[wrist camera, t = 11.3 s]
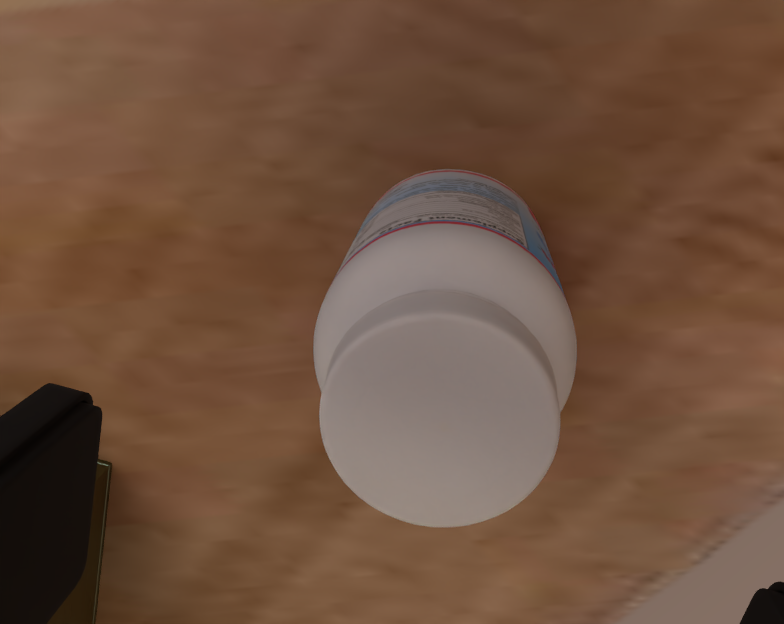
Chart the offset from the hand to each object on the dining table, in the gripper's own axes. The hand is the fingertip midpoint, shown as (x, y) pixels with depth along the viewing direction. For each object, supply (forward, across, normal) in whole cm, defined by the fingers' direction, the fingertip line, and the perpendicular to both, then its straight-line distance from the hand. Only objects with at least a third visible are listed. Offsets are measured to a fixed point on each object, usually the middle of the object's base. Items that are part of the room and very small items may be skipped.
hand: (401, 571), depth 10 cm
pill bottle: (+15, 0, -1) cm, 15 cm away
